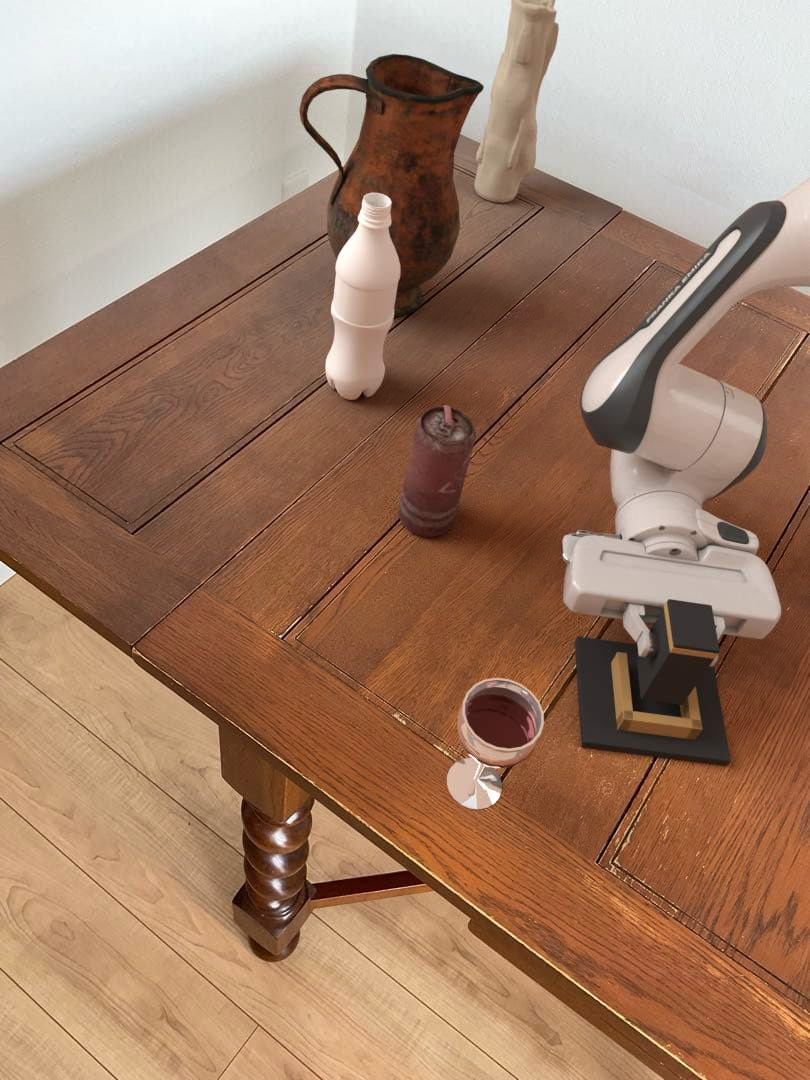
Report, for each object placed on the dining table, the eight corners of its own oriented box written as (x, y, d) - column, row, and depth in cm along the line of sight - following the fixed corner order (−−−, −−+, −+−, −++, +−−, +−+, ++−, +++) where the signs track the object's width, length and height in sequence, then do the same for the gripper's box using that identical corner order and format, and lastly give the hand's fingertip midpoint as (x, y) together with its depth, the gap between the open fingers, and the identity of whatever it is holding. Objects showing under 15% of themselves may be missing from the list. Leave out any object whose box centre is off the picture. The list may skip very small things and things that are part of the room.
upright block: (676, 660, 93) (712, 604, 87) (683, 706, 90) (720, 651, 83) (635, 654, 93) (667, 598, 86) (640, 700, 90) (674, 645, 83)
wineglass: (475, 735, 89) (503, 663, 80) (527, 789, 86) (562, 721, 77) (420, 776, 86) (443, 705, 77) (473, 834, 83) (503, 767, 74)
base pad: (708, 659, 99) (719, 643, 96) (726, 766, 91) (739, 750, 88) (574, 641, 98) (582, 624, 96) (581, 747, 90) (590, 731, 88)
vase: (489, 173, 158) (533, -27, 135) (533, 194, 155) (586, -6, 133) (461, 191, 153) (502, -13, 130) (506, 214, 150) (556, 9, 128)
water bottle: (336, 410, 115) (358, 222, 97) (315, 372, 119) (332, 185, 101) (391, 400, 118) (422, 215, 99) (368, 363, 122) (394, 179, 103)
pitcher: (456, 332, 129) (505, 111, 106) (297, 336, 123) (313, 104, 101) (428, 260, 139) (467, 44, 116) (280, 260, 134) (291, 35, 111)
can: (446, 495, 109) (469, 401, 98) (457, 538, 105) (483, 444, 94) (393, 497, 107) (411, 401, 97) (403, 540, 103) (423, 445, 93)
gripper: (568, 506, 93) (576, 621, 84) (773, 537, 95) (802, 653, 85) (551, 548, 98) (557, 661, 89) (746, 576, 99) (771, 691, 90)
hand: (679, 658), depth 87 cm, fingers closed on upright block, 4 cm apart
